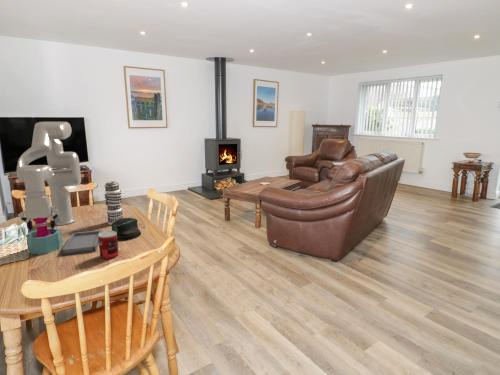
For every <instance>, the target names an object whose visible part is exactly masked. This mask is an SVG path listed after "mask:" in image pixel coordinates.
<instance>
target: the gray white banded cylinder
mask: <svg viewBox="0 0 500 375" xmlns="http://www.w3.org/2000/svg"><path fill="white" fill-rule="evenodd" d="M104 188H105V189H104V190H105V191H104V192H105V194H104V199H105V205H106V208H107V210H106V211H107V212H106V215H107V216H106V217H107V223H108V225H111V226H112V223H113V222H115V221H116V220H119V219H122V218H124V215H123V210H122V209H123V208H122V205H121V204H122V201H121V200H122V196H121V194H122V190H120V189H121V188H120V183H118V182H117V181H108V182H106V183H105V184H104Z"/></svg>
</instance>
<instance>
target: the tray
mask: <svg viewBox="0 0 500 375" xmlns="http://www.w3.org/2000/svg"><path fill="white" fill-rule="evenodd" d="M101 232H103V229H100V230H99V229H98V230H91V231H90V230H89V231H80V232H79V231H78V232H72V234H71V235H70V236H69V238H68V239H67V242H66V243H65V244H64V246H63V247H62V249H61V254H62V256H67V255H75V254H76V255H77V254H85V253H93V252H94V253H95V252H96V251H97V248H99V242H98V234H99V233H101Z"/></svg>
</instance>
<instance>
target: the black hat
mask: <svg viewBox="0 0 500 375" xmlns="http://www.w3.org/2000/svg"><path fill="white" fill-rule="evenodd" d="M111 231H115V232H116V233H117V240H118V242H127V241H131V240H136V239H138V238H139V237H140V236H141V235H142V232H141V231H142V230H141V229H140V228H139V225H138V219H136V218H134V217H122V219H119V220H116V221H115V222H113V223H112V225H111Z"/></svg>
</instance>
